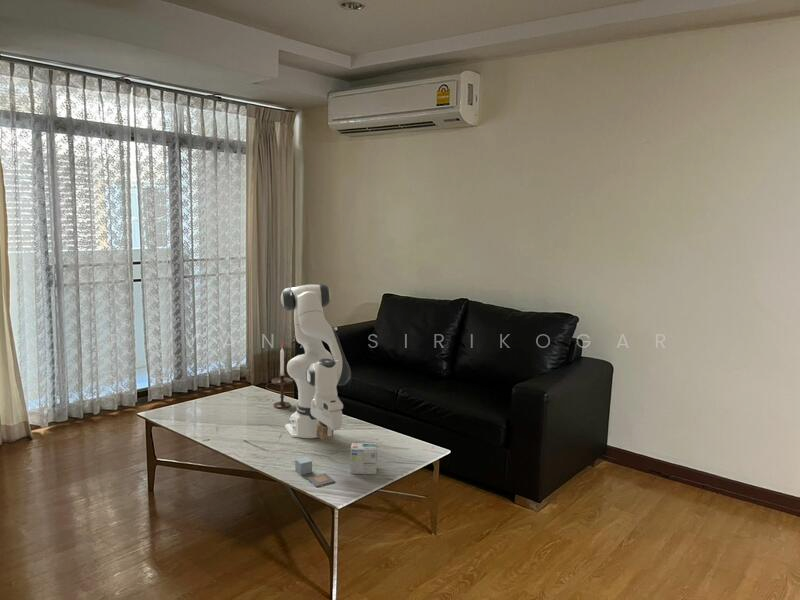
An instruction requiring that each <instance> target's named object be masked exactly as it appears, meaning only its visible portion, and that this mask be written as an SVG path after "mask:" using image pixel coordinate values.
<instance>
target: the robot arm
mask: <svg viewBox="0 0 800 600" xmlns="http://www.w3.org/2000/svg"><path fill="white" fill-rule="evenodd" d="M331 295H332V294H331V291H330V289H329V286H327V285H326V284H324V283H318V284H304V285H298V286H293V287H287V288H284V289H283V290H281V295H280V303H281V305H282V307H283V309H284V310H285V311H289V312H293V322H294V331H295V332H294V333H295V340H296V342H297V343H298V344H300V345H301V346H302V348H303V350H304V353H303V354H297V355H296V356H294V357H292V358H291V359H290V360H288V362H287V364H286V372H287V374H288V376H290V377H289V378H291V379H292V380H293V381H294V382H295V384H296V387H297V391H298V392H297V395H298V397H297V398H298V402H297V403H296V410H295V412H293V413H292V414H291V415H290V416H289V419H288V423H286V424H285V425H284V428H285V429H286V431H287V432H288V433H289V435H290V437H292V438H302V439H315V438H318V437H317V436H316V435H317V424H320V423H324V424H325V425H327V428H328V430H327V431H326V435H327V436H331V435H332V430H334V431H336V430H340V429H341V428H342V426H343V411H342V410H343V409H344V404H343V402H342V401H341V399H340V398H339V396H338V389H337V386H345V385H346V384H347V383H348V382H349V381H350V379H351V377H352V370H351V367H350V365H349V362H348V361H347V358H346V355H345V353H344V351H343V348H342V344H341V342H340V338H339V337H338V333H337V332H336V329H335V328H334V326H332V325H330V323H329V322H328V321H327V320H326V317H325V314H324V309H323V308H325V307H327V306H328V305H329V304H330V301H331V297H332V296H331ZM323 342H324V343H326V344H327V345H328V347H329V350H330V352H329V351H328V350H327V349H326V348H325V346H324V344H323Z"/></svg>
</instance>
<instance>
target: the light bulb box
mask: <svg viewBox="0 0 800 600" xmlns="http://www.w3.org/2000/svg"><path fill="white" fill-rule="evenodd" d="M377 469H378V442H377V443H376V442H357V443H356V442H351V446H350V474H351V475H357V474H359V475H377V472H378V471H377Z"/></svg>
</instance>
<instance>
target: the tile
mask: <svg viewBox="0 0 800 600" xmlns="http://www.w3.org/2000/svg"><path fill="white" fill-rule="evenodd" d="M307 479H308V480H309V481H310V483H311V484H312V483H313V484H314V485H315V486H316V488H319V487H318V486H320V487H322V486H321V485H324V486H327V485H330V484H334V483H335V482H336V481H335V480H334V479H333V478H332V477H330V475H328V474H327V473H325V472H324V473H321V474H318V475H316V474H315V475H314V476H310V477H307V478H306V480H307ZM308 480H307V481H308ZM309 481H308V482H309ZM313 484H312V485H313ZM326 484H327V485H326ZM314 485H313V486H314ZM315 486H314V487H315Z"/></svg>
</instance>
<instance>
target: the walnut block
mask: <svg viewBox="0 0 800 600" xmlns="http://www.w3.org/2000/svg"><path fill="white" fill-rule="evenodd" d="M327 430H328V428H327V425H325V424H324V423H320V424H317V435H316V436H317V438H319V439H320V440H322V441H324V440H328V439H329V440H330V439H333V438H334V431H335V430H332V435H331V436H327V435H326V431H327Z"/></svg>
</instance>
